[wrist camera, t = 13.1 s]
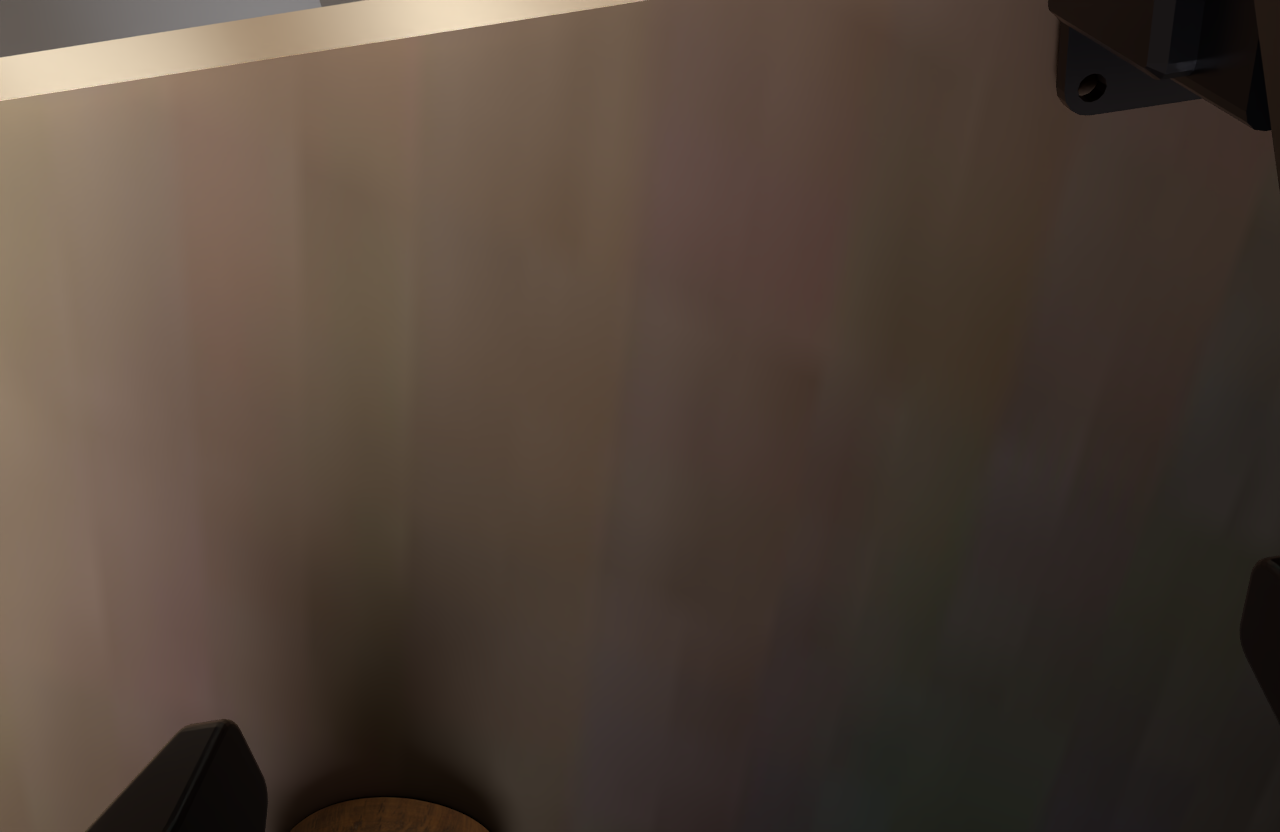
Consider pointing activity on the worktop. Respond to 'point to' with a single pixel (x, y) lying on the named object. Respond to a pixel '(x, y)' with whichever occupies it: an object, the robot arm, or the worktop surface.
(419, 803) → the brown wooden tall piece
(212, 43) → the socket board
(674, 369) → the worktop surface
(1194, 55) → the robot arm
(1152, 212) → the worktop surface
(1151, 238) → the worktop surface
